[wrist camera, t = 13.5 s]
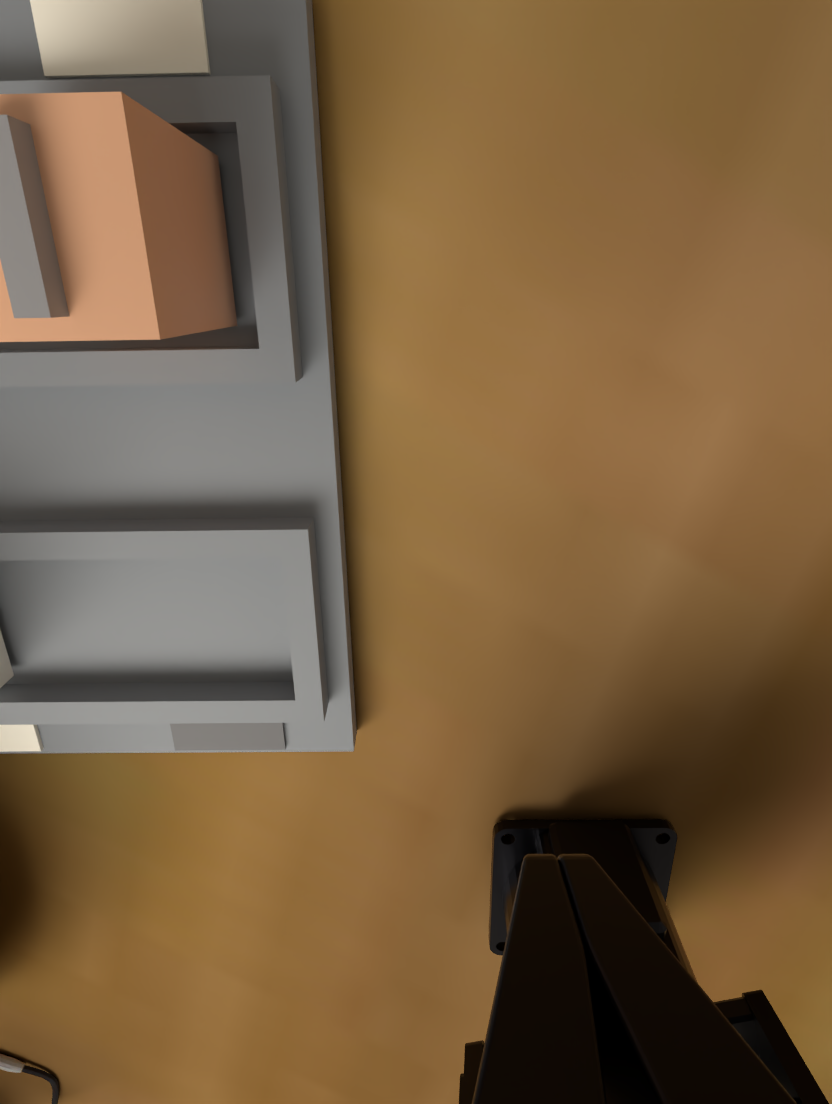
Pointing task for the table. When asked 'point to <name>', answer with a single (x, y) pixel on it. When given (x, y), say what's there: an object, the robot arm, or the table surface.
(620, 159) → the table surface
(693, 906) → the table surface
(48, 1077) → the multimeter
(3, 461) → the switch board
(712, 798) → the table surface
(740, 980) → the table surface
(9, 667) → the tab
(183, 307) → the tab
